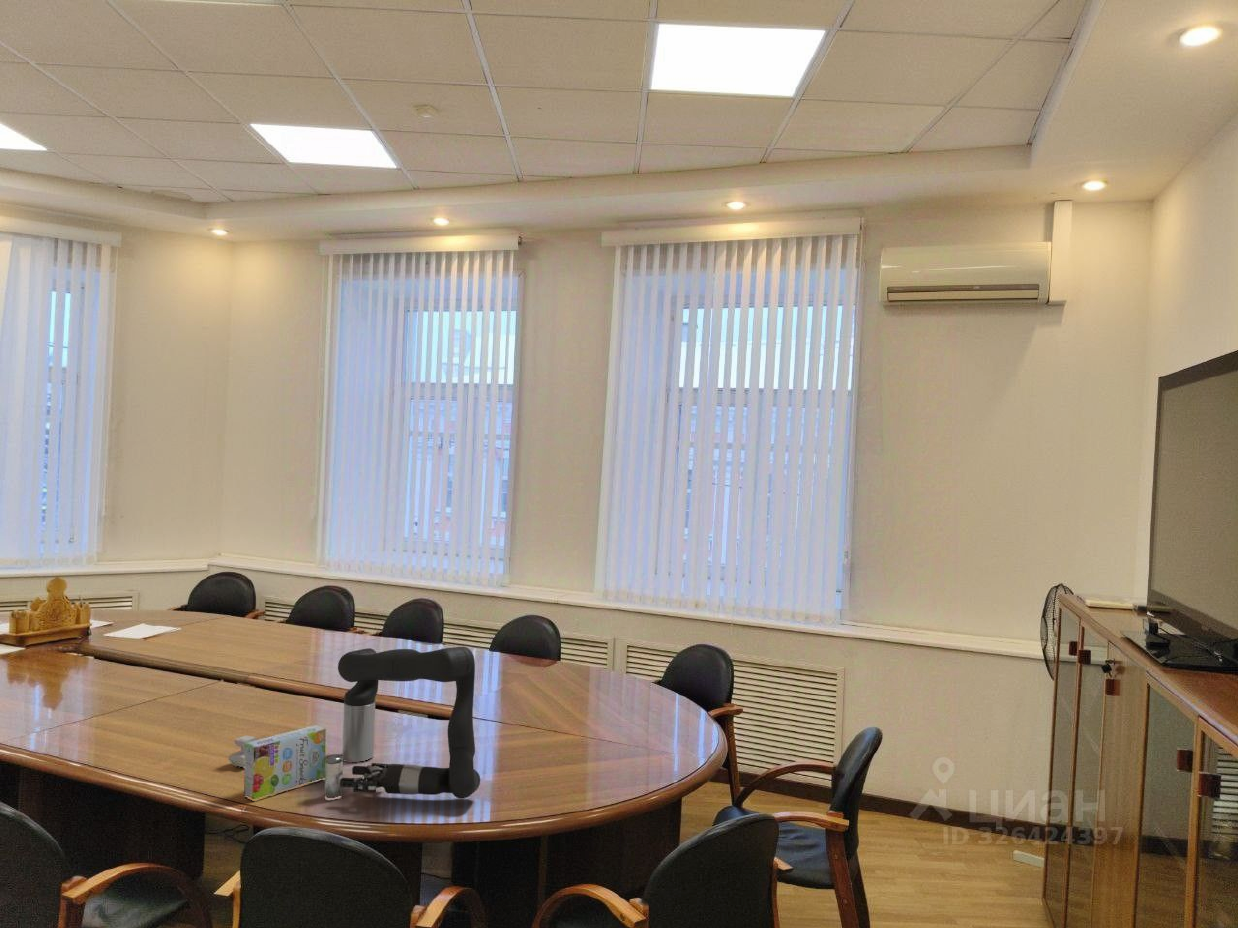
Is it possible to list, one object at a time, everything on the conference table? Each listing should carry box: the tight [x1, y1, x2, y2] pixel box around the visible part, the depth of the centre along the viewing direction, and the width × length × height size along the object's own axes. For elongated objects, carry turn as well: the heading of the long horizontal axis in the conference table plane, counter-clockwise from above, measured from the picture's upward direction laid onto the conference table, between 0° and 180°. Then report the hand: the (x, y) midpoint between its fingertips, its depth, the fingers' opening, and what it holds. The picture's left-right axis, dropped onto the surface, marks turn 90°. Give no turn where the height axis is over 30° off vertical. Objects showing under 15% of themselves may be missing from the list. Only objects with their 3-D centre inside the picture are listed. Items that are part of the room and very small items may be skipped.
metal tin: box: [324, 753, 344, 798], centre depth 223 cm, size 5×5×11 cm
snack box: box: [243, 724, 327, 799], centre depth 228 cm, size 21×6×15 cm, turn 141°
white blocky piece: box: [228, 735, 257, 768], centre depth 243 cm, size 9×7×8 cm
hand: (346, 775), depth 223 cm, fingers open, 8 cm apart
